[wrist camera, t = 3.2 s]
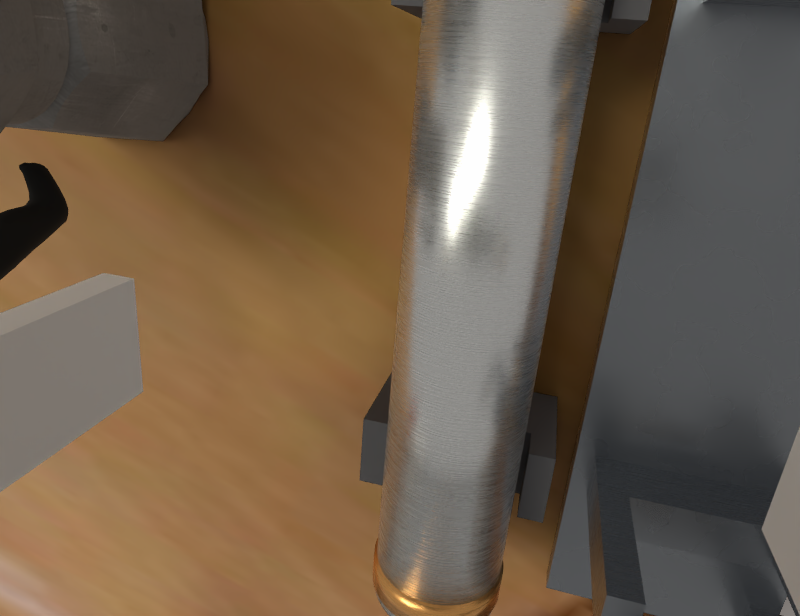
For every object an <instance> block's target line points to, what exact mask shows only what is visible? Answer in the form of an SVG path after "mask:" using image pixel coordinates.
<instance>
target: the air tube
mask: <svg viewBox="0 0 800 616" xmlns="http://www.w3.org/2000/svg"><path fill="white" fill-rule="evenodd" d="M604 3H605V0H423V8H422V20H421V32H420V44H419V56H418V68H417V80H416V92H415V104H414V116H413V128H412V140H411V152H410V164H409V176H408V188H407V200H406V212H405V224H404V236H403V248H402V260H401V272H400V284H399V295H398V307H397V319H396V331H395V343H394V355H393V367H392V379H391V391H390V403H389V415H388V427H387V439H386V451H385V463H384V475H383V487H382V499H381V511H380V523H379V535H378V538H377V541H376V545H375V553H374V565H373V582H374V587H375V590H376V595H377V597H378V600H379V602H380V604H381V606H382V607H383V609H384V610H385V611H386V613H387V614H388V615H389V616H489V615H490V613H491V612H492V610H493V608H494V607H495V605H496V602H497V600H498V595H499V590H500V585H501V579H502V574H503V554H504V549H505V543H506V538H507V532H508V527H509V521H510V516H511V510H512V505H513V500H514V494H515V489H516V483H517V478H518V472H519V467H520V461H521V456H522V450H523V445H524V440H525V434H526V429H527V423H528V418H529V412H530V407H531V401H532V396H533V390H534V385H535V380H536V374H537V369H538V363H539V358H540V352H541V347H542V341H543V336H544V330H545V325H546V319H547V314H548V309H549V303H550V298H551V292H552V287H553V281H554V276H555V270H556V265H557V259H558V254H559V249H560V243H561V238H562V232H563V227H564V221H565V216H566V210H567V205H568V199H569V194H570V189H571V183H572V178H573V172H574V167H575V161H576V156H577V150H578V145H579V139H580V134H581V129H582V123H583V118H584V112H585V107H586V101H587V96H588V90H589V85H590V79H591V74H592V68H593V63H594V58H595V52H596V47H597V41H598V36H599V30H600V25H601V19H602V14H603V8H604Z"/></svg>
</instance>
